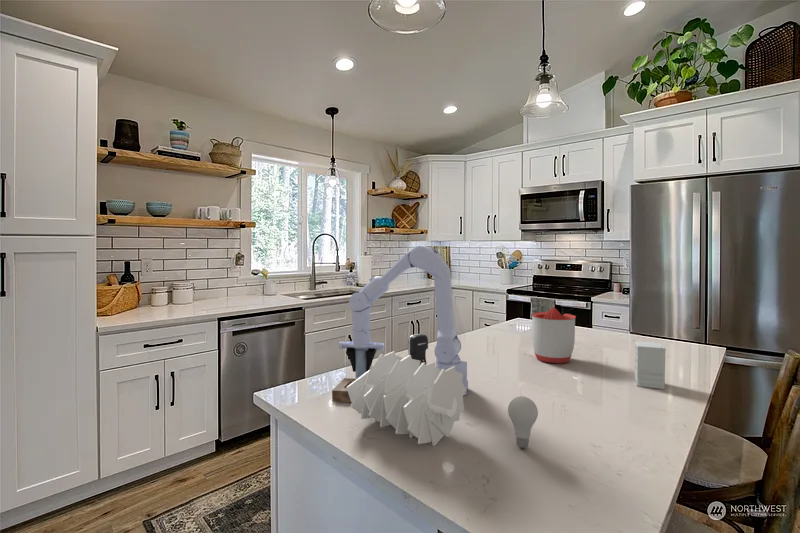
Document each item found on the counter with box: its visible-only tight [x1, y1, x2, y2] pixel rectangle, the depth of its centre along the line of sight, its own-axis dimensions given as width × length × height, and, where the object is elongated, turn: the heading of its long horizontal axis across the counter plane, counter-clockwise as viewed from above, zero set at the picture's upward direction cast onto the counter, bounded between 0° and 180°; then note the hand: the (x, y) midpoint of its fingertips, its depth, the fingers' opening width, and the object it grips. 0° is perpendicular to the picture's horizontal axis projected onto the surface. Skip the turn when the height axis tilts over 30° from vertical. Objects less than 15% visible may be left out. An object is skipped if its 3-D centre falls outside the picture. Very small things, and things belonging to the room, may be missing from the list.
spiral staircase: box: [347, 351, 466, 447], centre depth 94 cm, size 18×18×25 cm
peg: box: [354, 349, 368, 379], centre depth 130 cm, size 4×4×10 cm
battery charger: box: [407, 333, 429, 365], centre depth 145 cm, size 7×4×11 cm, turn 125°
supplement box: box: [634, 340, 667, 390], centre depth 125 cm, size 7×7×13 cm
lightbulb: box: [507, 395, 539, 449], centre depth 86 cm, size 6×6×11 cm
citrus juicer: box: [531, 306, 577, 365], centre depth 153 cm, size 16×17×20 cm
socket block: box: [331, 377, 356, 403], centre depth 117 cm, size 11×11×3 cm
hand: (361, 371), depth 130 cm, fingers closed on peg, 4 cm apart
